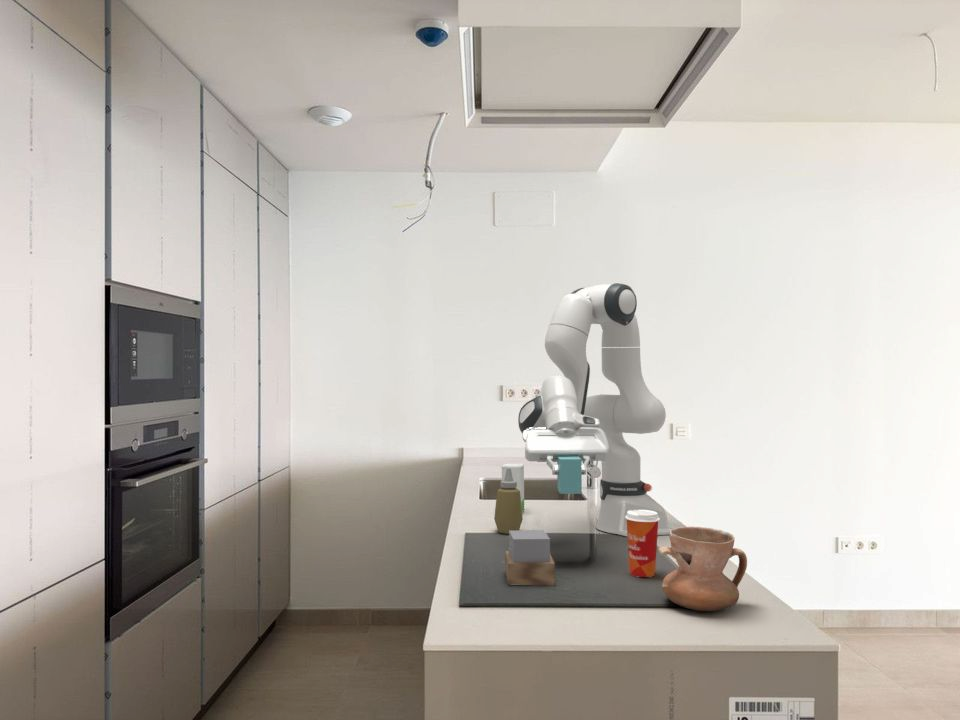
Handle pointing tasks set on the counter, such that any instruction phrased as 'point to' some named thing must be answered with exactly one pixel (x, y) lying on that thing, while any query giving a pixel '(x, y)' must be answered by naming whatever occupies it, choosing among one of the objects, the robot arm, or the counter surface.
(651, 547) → the paper cup
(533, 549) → the grey top block
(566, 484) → the teal block
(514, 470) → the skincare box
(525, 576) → the walnut base block
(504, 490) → the squeeze bottle
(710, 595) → the ceramic jug
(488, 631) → the counter surface
